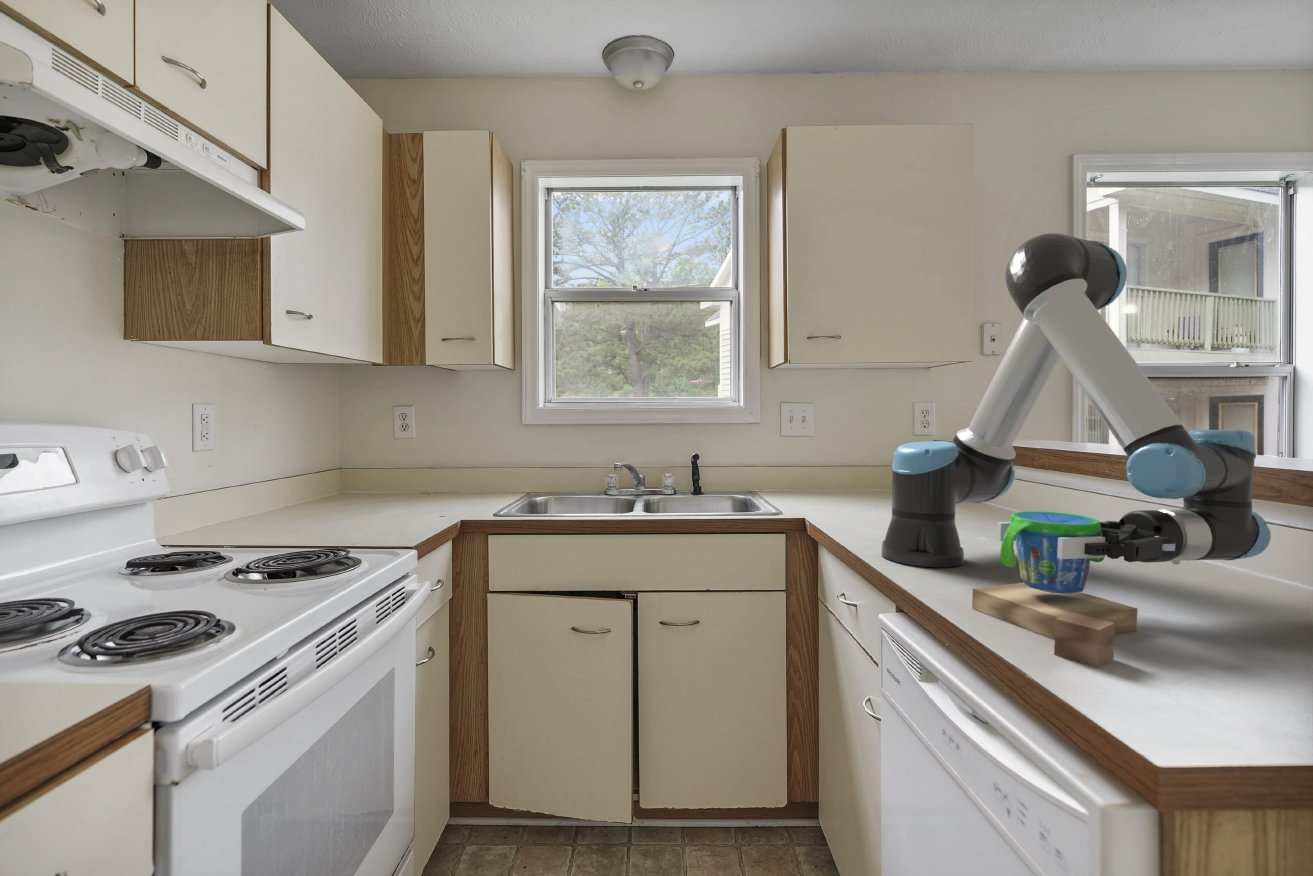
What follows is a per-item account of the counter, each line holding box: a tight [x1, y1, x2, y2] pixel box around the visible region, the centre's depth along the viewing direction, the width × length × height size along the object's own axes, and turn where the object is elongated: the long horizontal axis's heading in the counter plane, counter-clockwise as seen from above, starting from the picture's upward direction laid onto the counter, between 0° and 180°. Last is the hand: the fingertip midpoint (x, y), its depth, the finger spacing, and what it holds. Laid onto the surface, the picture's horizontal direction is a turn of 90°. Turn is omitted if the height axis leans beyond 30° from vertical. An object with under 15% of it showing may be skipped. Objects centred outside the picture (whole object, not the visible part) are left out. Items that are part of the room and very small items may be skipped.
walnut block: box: [1053, 612, 1115, 669], centre depth 72 cm, size 4×4×4 cm
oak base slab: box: [971, 582, 1139, 640], centre depth 86 cm, size 14×14×3 cm
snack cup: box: [999, 510, 1105, 594], centre depth 85 cm, size 16×10×10 cm
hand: (1027, 539), depth 84 cm, fingers closed on snack cup, 10 cm apart
